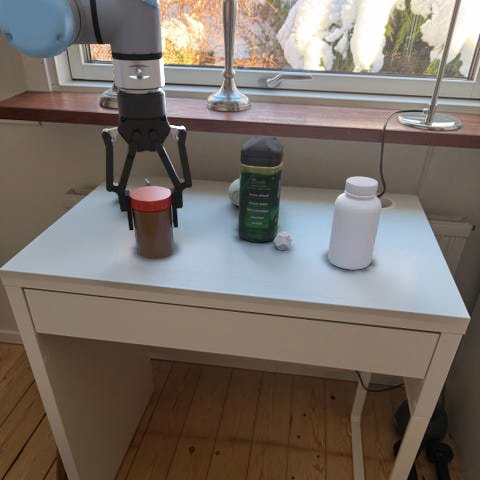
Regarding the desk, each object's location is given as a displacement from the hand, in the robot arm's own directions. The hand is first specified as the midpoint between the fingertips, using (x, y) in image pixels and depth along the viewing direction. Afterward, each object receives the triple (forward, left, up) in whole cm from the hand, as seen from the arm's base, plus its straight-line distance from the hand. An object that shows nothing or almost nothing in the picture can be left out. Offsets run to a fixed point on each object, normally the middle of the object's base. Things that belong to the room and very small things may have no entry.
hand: (153, 225), depth 86 cm
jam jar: (0, 0, -5) cm, 5 cm away
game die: (+24, -3, -5) cm, 25 cm away
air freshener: (+23, +19, -5) cm, 30 cm away
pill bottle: (+35, -10, -5) cm, 37 cm away
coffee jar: (+21, +4, -5) cm, 22 cm away
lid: (0, 0, +6) cm, 6 cm away
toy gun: (-3, +22, -5) cm, 23 cm away
